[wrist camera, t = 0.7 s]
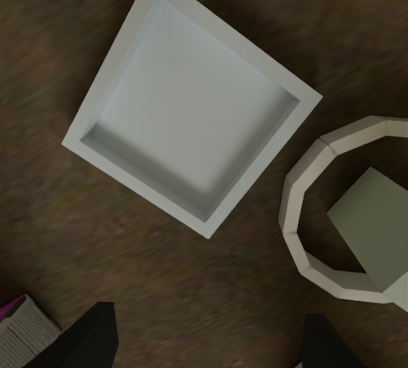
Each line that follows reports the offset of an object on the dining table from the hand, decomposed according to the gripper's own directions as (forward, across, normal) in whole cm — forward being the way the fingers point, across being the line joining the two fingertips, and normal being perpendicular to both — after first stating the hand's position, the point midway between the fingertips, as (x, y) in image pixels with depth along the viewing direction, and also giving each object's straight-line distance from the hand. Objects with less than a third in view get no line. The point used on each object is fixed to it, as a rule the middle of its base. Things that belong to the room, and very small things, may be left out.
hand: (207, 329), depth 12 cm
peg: (+10, -10, -1) cm, 14 cm away
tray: (+10, +2, -6) cm, 12 cm away
